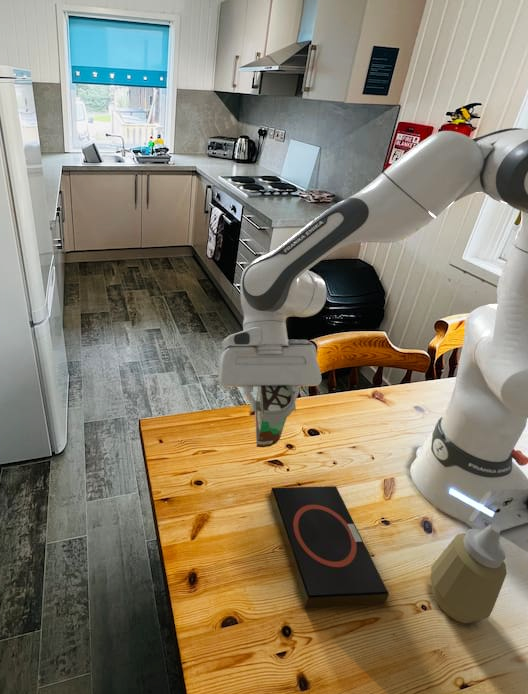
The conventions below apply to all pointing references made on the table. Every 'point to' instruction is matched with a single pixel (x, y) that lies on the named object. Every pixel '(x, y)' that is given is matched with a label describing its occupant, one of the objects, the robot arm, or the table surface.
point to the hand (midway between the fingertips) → (273, 411)
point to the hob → (326, 549)
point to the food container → (272, 413)
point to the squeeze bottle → (470, 575)
